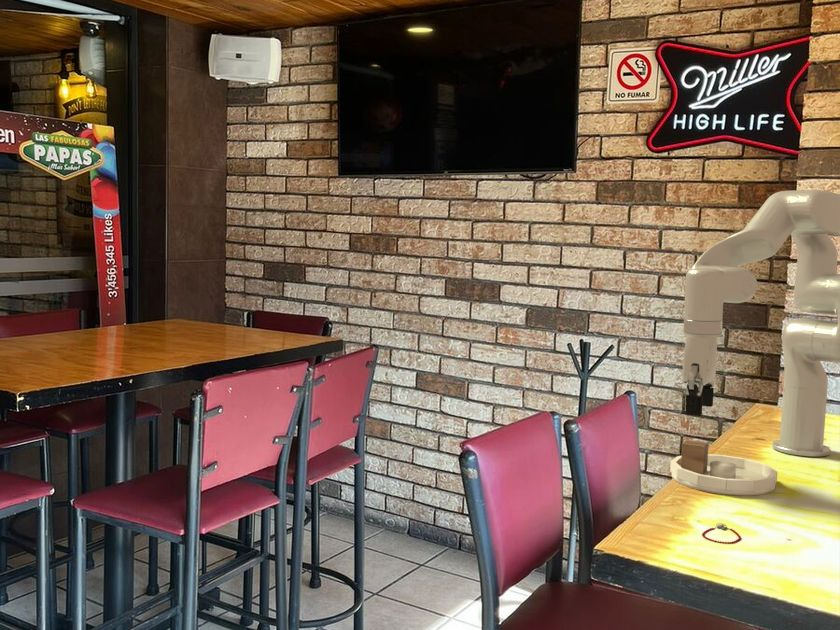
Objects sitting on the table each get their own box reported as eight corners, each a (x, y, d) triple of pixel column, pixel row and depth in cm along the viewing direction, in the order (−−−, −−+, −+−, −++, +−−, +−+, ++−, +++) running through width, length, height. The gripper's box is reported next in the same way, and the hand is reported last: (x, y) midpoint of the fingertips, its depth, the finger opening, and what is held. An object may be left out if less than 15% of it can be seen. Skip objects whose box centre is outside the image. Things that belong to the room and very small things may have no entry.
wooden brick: (685, 467, 178) (687, 439, 178) (707, 470, 176) (708, 442, 176) (680, 471, 175) (682, 443, 174) (702, 475, 172) (704, 446, 172)
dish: (685, 462, 186) (685, 447, 186) (782, 478, 176) (783, 461, 175) (660, 483, 169) (661, 466, 169) (765, 502, 159) (767, 483, 158)
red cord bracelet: (708, 525, 145) (709, 520, 145) (745, 532, 142) (746, 526, 142) (698, 540, 137) (698, 534, 137) (737, 548, 135) (737, 542, 134)
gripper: (694, 323, 182) (691, 400, 184) (673, 331, 167) (669, 415, 169) (730, 325, 178) (726, 404, 180) (712, 334, 163) (708, 420, 165)
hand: (699, 410), depth 174 cm, fingers open, 9 cm apart
